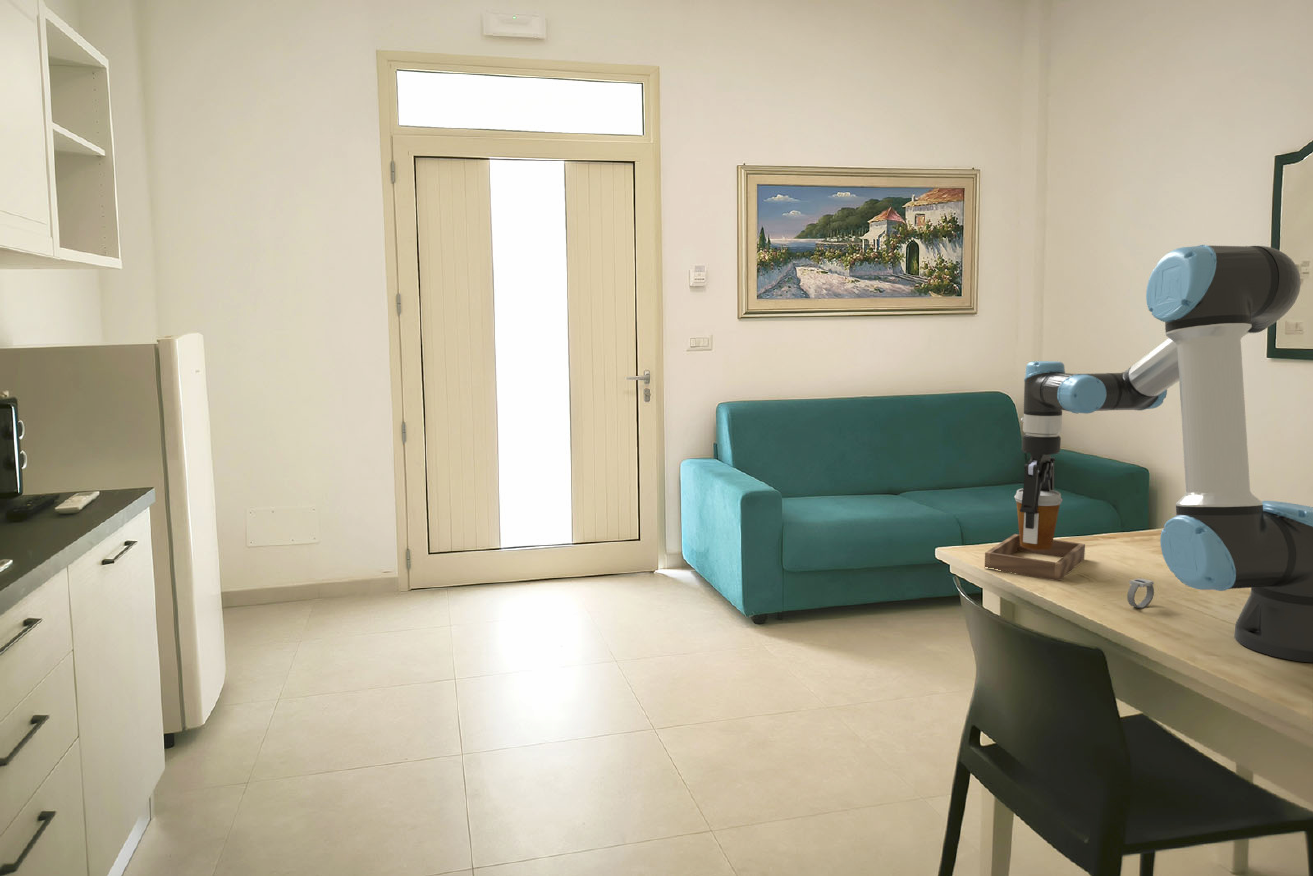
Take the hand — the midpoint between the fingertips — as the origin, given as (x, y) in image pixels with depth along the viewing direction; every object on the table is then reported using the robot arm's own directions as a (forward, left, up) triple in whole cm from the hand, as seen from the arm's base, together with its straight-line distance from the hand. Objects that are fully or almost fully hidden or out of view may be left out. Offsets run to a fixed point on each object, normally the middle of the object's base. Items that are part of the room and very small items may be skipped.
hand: (1036, 538), depth 190 cm
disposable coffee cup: (0, 0, -2) cm, 2 cm away
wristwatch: (-18, -24, -6) cm, 30 cm away
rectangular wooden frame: (0, 0, -6) cm, 6 cm away
